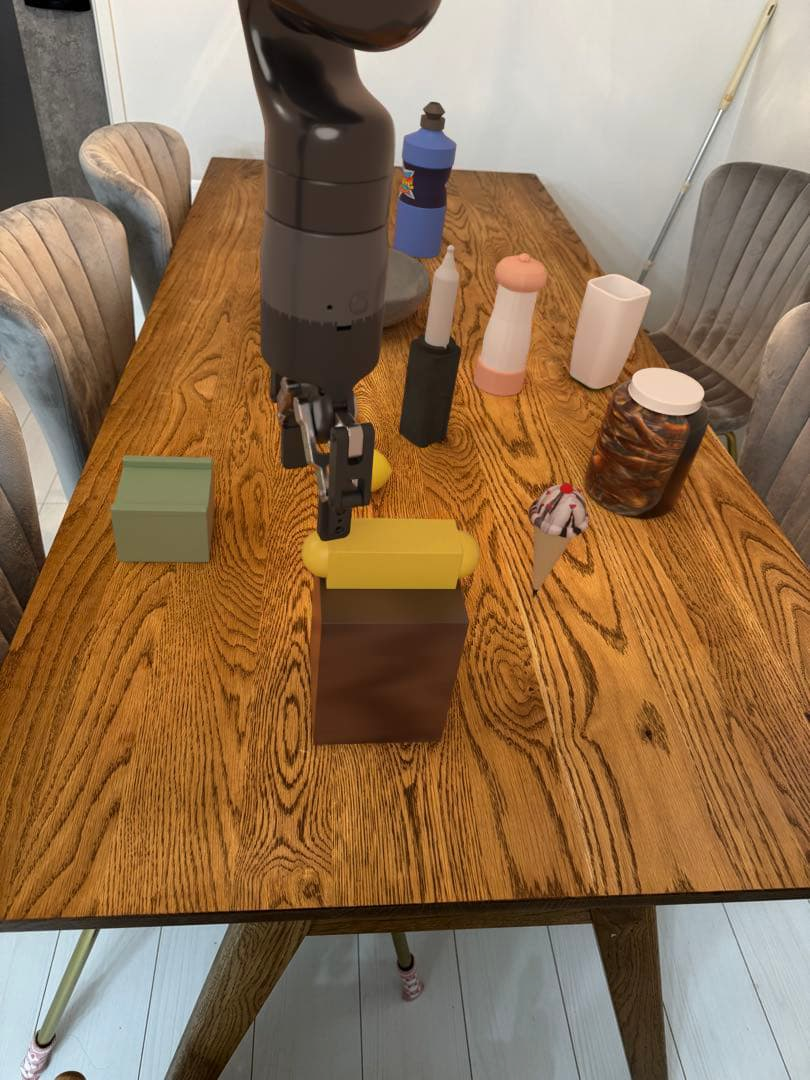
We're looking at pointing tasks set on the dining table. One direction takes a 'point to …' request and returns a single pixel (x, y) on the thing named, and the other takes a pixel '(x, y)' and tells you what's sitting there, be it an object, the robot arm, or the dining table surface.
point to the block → (164, 509)
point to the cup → (607, 329)
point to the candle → (433, 364)
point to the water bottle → (424, 186)
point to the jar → (647, 443)
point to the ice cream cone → (555, 527)
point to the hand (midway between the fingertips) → (313, 499)
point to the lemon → (379, 471)
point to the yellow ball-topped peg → (393, 555)
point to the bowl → (404, 287)
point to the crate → (384, 662)
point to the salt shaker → (510, 326)
